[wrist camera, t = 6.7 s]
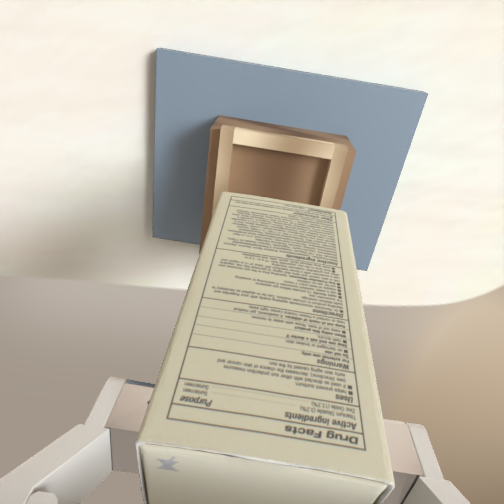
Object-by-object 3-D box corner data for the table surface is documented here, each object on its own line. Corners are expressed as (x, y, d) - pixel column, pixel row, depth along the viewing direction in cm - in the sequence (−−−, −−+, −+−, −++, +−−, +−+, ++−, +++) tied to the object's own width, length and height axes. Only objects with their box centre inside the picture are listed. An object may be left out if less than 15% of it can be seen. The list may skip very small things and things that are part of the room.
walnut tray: (207, 232, 32) (197, 263, 28) (220, 110, 27) (209, 125, 23) (316, 250, 32) (322, 283, 28) (348, 131, 27) (359, 150, 23)
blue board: (156, 231, 33) (152, 236, 33) (160, 47, 26) (156, 48, 26) (364, 264, 34) (366, 270, 33) (423, 91, 27) (428, 93, 26)
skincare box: (215, 257, 21) (135, 513, 12) (221, 184, 18) (123, 441, 9) (331, 277, 21) (347, 552, 12) (354, 206, 18) (401, 491, 9)
